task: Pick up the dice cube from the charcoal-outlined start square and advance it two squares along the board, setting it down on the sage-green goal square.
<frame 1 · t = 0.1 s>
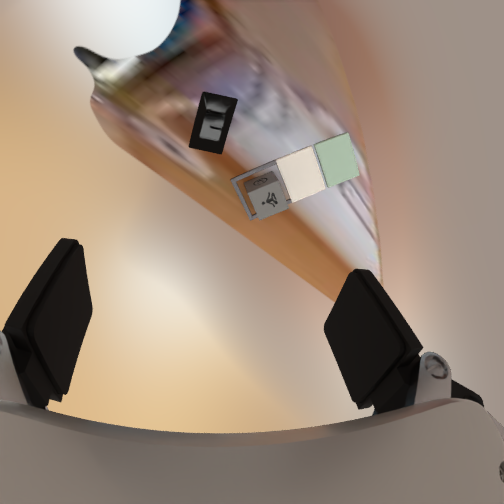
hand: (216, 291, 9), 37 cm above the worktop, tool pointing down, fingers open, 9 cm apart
dice cube: (262, 189, 47), resting in game board
black angular block: (212, 122, 40), on the worktop
game board: (300, 174, 46), on the worktop
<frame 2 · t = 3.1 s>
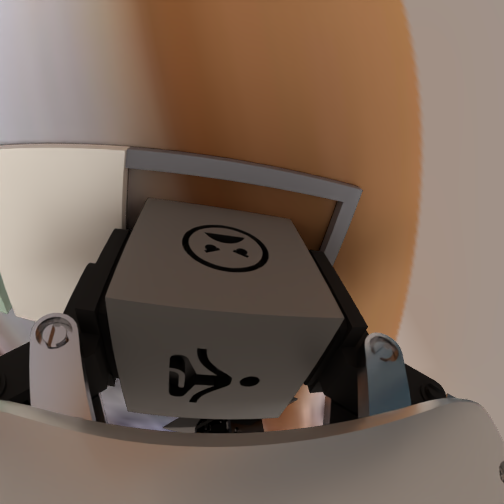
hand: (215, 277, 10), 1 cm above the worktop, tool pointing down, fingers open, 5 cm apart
dice cube: (209, 264, 11), resting in game board
black angular block: (225, 409, 19), on the worktop
game board: (54, 246, 9), on the worktop
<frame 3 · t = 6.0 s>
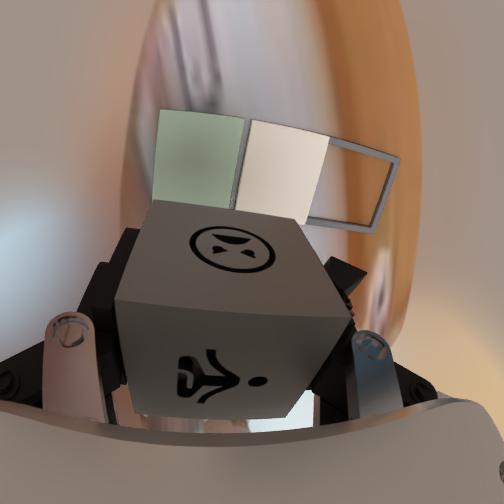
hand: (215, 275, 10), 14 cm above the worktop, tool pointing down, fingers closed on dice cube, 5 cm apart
dice cube: (214, 265, 11), point 13 cm above the worktop, touching gripper
black angular block: (321, 294, 32), on the worktop
game board: (280, 174, 23), on the worktop
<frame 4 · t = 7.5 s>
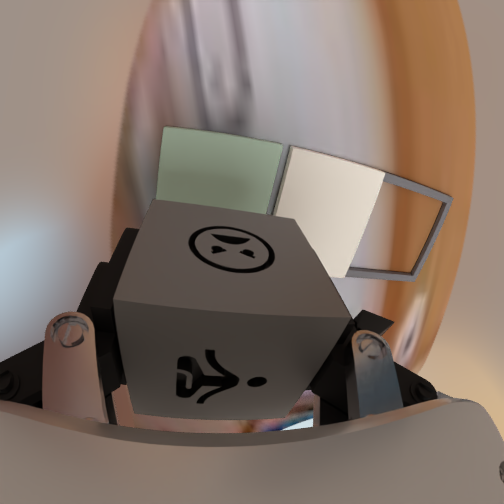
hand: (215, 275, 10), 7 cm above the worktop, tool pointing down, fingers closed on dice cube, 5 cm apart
dice cube: (214, 265, 11), point 6 cm above the worktop, touching gripper
black angular block: (345, 342, 27), on the worktop
game board: (320, 217, 18), on the worktop
when the fingers open (2 cm above the worktop, at t = 8.8 s): dice cube drops 1 cm, resting on game board.
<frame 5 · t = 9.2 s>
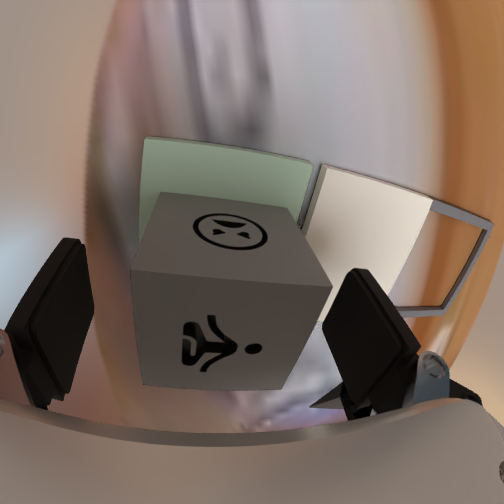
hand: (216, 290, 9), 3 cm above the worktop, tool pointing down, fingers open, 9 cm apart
dice cube: (215, 251, 12), resting on game board
black angular block: (361, 376, 23), on the worktop
game board: (352, 255, 14), on the worktop
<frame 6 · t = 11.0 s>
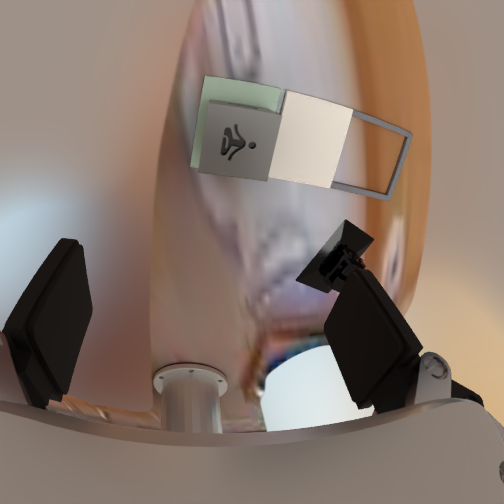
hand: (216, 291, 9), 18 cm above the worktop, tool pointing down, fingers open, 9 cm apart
dice cube: (233, 130, 23), resting on game board
black angular block: (334, 255, 33), on the worktop
game board: (309, 140, 24), on the worktop
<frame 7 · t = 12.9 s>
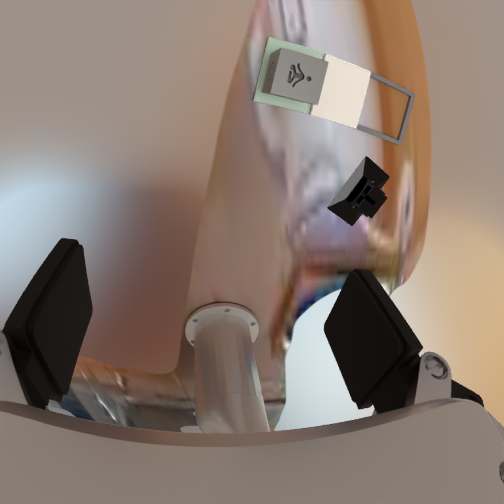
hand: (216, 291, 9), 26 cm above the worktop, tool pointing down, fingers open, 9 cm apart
dice cube: (286, 77, 28), resting on game board
black angular block: (357, 189, 38), on the worktop
game board: (340, 91, 29), on the worktop
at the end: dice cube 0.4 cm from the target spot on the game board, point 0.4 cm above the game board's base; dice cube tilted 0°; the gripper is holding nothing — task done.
